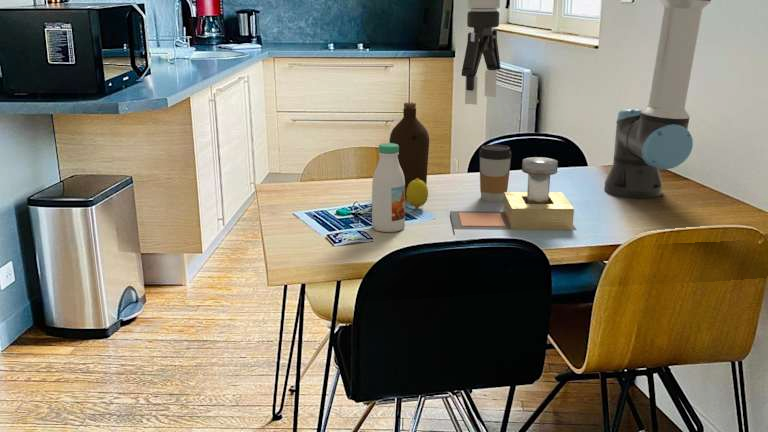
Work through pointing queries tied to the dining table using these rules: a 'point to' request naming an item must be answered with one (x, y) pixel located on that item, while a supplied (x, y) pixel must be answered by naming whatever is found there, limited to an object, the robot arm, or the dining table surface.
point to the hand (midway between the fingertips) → (480, 100)
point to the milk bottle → (388, 191)
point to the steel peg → (539, 178)
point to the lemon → (417, 193)
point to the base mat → (479, 220)
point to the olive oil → (411, 145)
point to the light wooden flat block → (538, 212)
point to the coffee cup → (494, 172)
